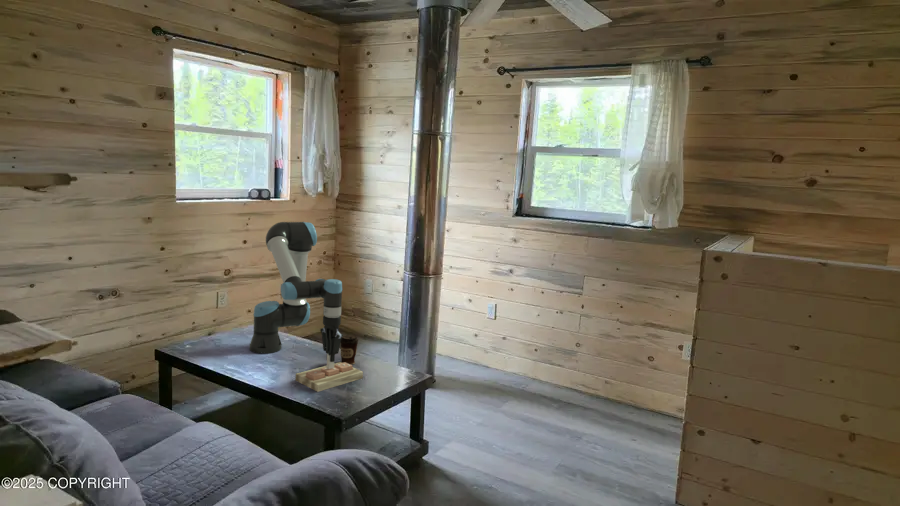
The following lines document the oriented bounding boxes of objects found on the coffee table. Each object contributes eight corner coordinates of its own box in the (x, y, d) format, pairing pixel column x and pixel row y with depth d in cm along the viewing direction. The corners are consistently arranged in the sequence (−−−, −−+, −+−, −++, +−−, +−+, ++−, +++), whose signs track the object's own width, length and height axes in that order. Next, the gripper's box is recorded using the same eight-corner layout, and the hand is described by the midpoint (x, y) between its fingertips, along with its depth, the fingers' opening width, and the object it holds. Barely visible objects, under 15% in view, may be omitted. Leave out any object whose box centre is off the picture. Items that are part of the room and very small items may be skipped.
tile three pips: (334, 374, 247) (334, 364, 246) (344, 371, 251) (344, 361, 251) (342, 378, 243) (342, 367, 243) (352, 375, 248) (352, 365, 247)
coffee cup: (352, 367, 258) (354, 340, 256) (336, 364, 260) (337, 338, 258) (359, 361, 267) (360, 335, 265) (343, 359, 268) (344, 333, 266)
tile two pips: (320, 378, 241) (320, 368, 241) (330, 375, 246) (331, 365, 245) (328, 382, 238) (328, 371, 237) (338, 379, 242) (339, 368, 241)
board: (295, 380, 238) (295, 373, 237) (340, 368, 256) (340, 361, 256) (317, 391, 228) (317, 384, 227) (362, 378, 246) (363, 371, 245)
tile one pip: (305, 382, 236) (306, 372, 235) (316, 379, 240) (317, 369, 239) (313, 386, 232) (314, 375, 232) (324, 383, 236) (325, 372, 236)
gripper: (315, 313, 239) (314, 365, 242) (334, 320, 231) (332, 374, 234) (329, 311, 245) (328, 362, 248) (348, 317, 236) (346, 370, 240)
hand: (330, 368), depth 241 cm, fingers closed
